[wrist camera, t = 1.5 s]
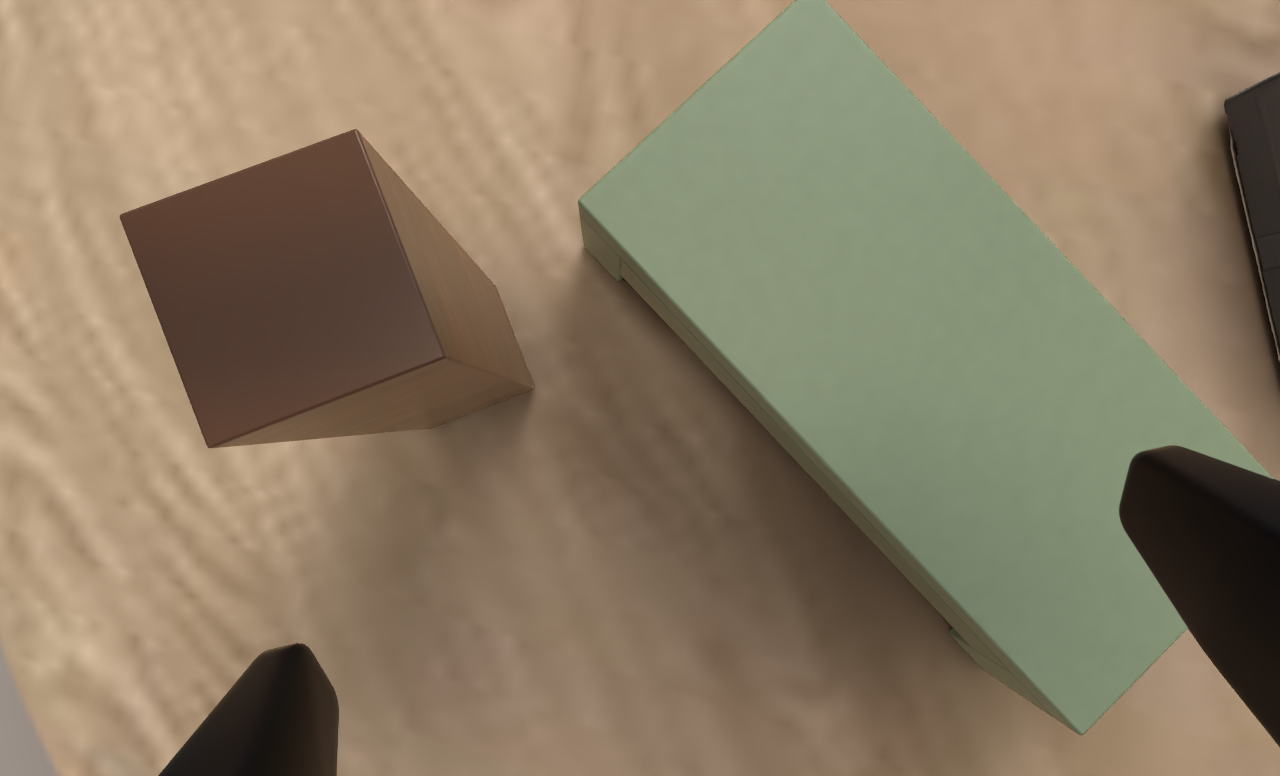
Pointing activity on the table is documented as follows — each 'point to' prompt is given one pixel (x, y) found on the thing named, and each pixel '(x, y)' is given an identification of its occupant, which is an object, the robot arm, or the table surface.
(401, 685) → the table surface
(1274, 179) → the disk drive
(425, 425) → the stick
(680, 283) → the sage green box
